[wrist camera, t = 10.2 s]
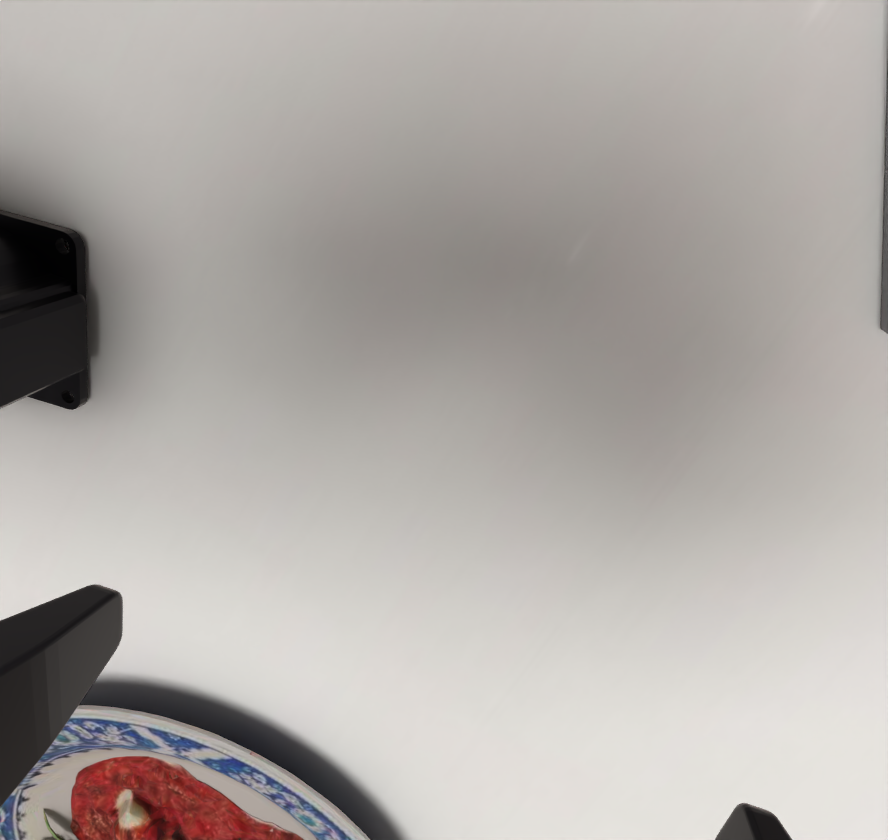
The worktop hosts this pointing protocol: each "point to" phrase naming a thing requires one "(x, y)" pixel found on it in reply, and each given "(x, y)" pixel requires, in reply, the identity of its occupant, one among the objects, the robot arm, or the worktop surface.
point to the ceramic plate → (162, 787)
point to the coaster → (885, 241)
